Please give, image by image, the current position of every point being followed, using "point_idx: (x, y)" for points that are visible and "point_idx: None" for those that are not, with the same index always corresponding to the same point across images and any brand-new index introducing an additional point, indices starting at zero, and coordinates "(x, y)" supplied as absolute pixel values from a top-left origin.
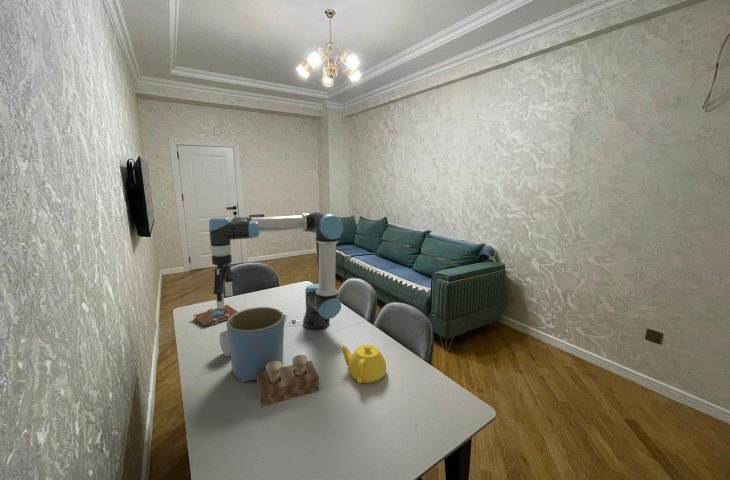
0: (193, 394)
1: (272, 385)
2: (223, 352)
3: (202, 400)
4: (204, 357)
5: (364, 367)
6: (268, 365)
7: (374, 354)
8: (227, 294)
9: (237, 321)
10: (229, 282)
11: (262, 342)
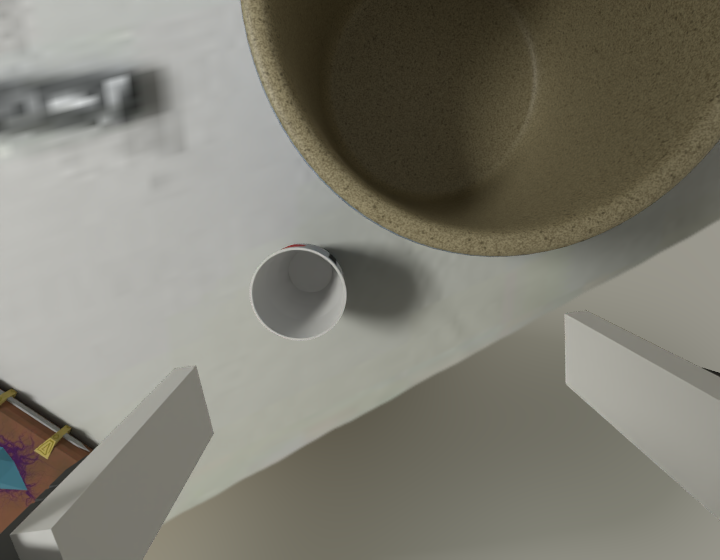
0: (558, 294)
1: None
2: (332, 291)
3: (593, 250)
4: (342, 356)
5: None
6: None
7: None
8: (202, 427)
9: (409, 208)
10: (67, 555)
11: None
